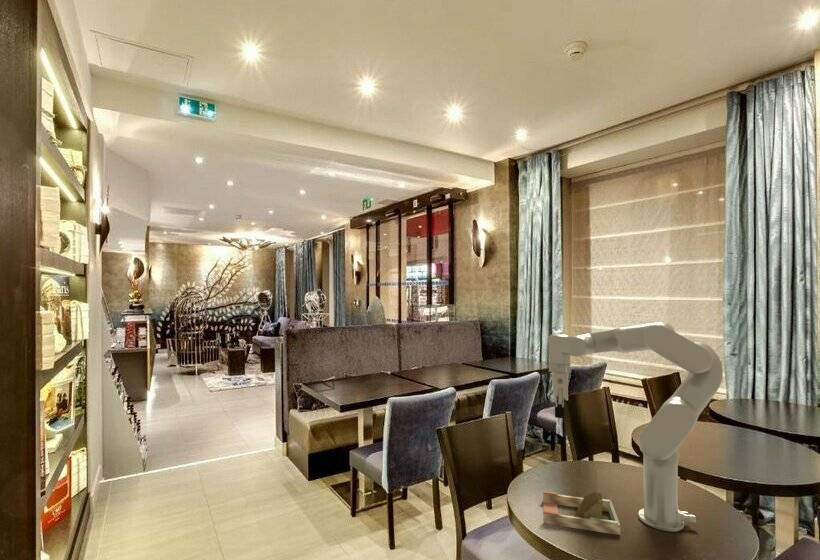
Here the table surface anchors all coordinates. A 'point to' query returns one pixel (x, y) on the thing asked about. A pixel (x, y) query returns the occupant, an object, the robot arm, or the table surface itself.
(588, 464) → the table surface
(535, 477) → the table surface
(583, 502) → the rock
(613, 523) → the box
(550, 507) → the pads
